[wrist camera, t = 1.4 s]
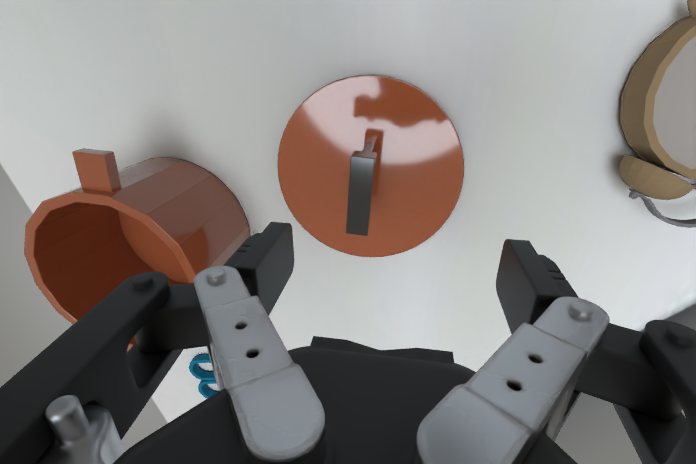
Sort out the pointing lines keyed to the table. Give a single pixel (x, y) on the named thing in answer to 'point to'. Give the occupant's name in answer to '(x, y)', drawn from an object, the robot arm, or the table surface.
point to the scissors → (203, 375)
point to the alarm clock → (662, 118)
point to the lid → (370, 166)
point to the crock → (129, 229)
